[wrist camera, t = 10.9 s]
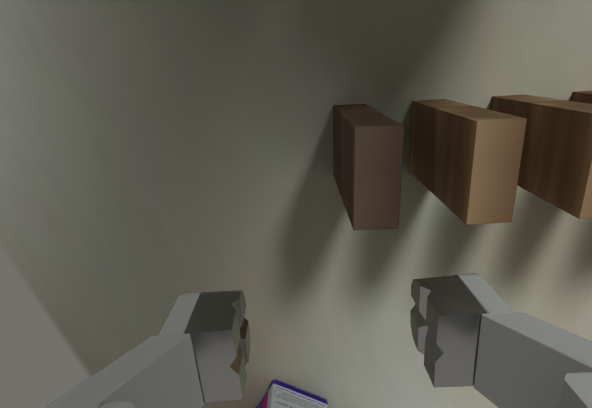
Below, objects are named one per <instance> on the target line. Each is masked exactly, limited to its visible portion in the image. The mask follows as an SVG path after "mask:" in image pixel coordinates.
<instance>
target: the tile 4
mask: <svg viewBox="0 0 592 408" xmlns="http://www.w3.org/2000/svg"><path fill="white" fill-rule="evenodd" d="M571 101H574V102H581V103H589V104H592V91H582V92H573V94H572V99H571Z"/></svg>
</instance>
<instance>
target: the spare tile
mask: <svg viewBox="0 0 592 408" xmlns="http://www.w3.org/2000/svg"><path fill="white" fill-rule="evenodd" d="M403 140H404V126H403V125H401V124H400V123H398V122H396V121H394V120H392V119H391V118H389V117H387V116H385V115H384V114H382V113H380V112H378V111H376V110H375V109H373V108H371V107H369V106H367V105H366V104H358V105H333V163H334V178H335V181H336V183H337V186H338V189H339V192H340V194H341V197H342V200H343V203H344V205H345V208H346V211H347V214H348V216H349V219H350V222H351V225H352V227H353V230H375V229H398V226H399V209H400V192H401V174H402V157H403Z"/></svg>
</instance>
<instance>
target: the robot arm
mask: <svg viewBox="0 0 592 408" xmlns="http://www.w3.org/2000/svg"><path fill="white" fill-rule="evenodd" d="M411 296H412V298H413V300H414V302H415V306H414V307H413V308H412V309H411V330H412V336H413V339H414V343H415V345H416V348H417V350H418V351H419V352H421V353H422V354H424V366H425V368H426V370H427V373H428V375H429V377H430V379H431V381H432V384H433V386H434V387H457V386H474V388H475V389H476V390H477V391H479V392H480V393H481V394H482V395H484V396H485V397H486V398H487V399H489V400H490V401H491V402H492V403H494V404H495V405H496V406H497V407H499V408H592V341H589V340H587V339H585V338H582V337H580V336H578V335H575V334H573V333H570V332H568V331H566V330H563V329H561V328H559V327H556V326H554V325H552V324H549V323H547V322H545V321H542V320H540V319H537V318H535V317H533V316H530V315H528V314H526V313H523V312H514V311H513V310H512V309H511V308H510V307H509V306H508V305H507V304H506V303H505V302H504V300H503V299H502V298H501V297H500V296H499V295H498V294H497V293H496V292H495V291H494V290H493V288H492V287H491V286H490V285H489V284H488V283H487V282H486V281H485V280H484V279H483V277H482V276H481V275H479V274H477V273H472V274H462V275H453V276H442V277H432V278H421V279H413V281H412V285H411ZM245 310H246V302H245V296H244V292H243V290H238V291H217V292H202V293H201V292H195V293H183V294H180V295H179V296H178V297H177V299H176V301H175V303H174V305H173V307H172V309H171V311H170V313H169V315H168V317H167V319H166V321H165V323H164V325H163V327H162V329H161V331H160V333H159V335H158V336H151V337H150V338H148V339H147V340H145V341H144V342H142V343H141V344H139V345H138V346H136V347H135V348H133V349H132V350H130V351H129V352H127V353H126V354H124V355H123V356H121V357H120V358H118V359H117V360H115V361H114V362H112V363H111V364H109V365H108V366H106V367H105V368H103V369H102V370H100V371H99V372H97V373H96V374H94V375H93V376H91V377H90V378H88V379H87V380H85V381H84V382H82V383H81V384H79V385H78V386H76V387H75V388H73V389H72V390H70V391H69V392H67V393H66V394H64V395H63V396H61V397H60V398H58V399H57V400H55V401H54V402H52V403H51V404H49V406H48V407H47V408H202V407H203V406H204V403H209V402H220V401H230V400H241V399H243V394H244V388H245V381H246V370H245V364H246V363H247V362H249V354H250V331H249V323H248V321H247V320H246V319H245V318H244V315H245Z"/></svg>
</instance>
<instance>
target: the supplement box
mask: <svg viewBox="0 0 592 408" xmlns="http://www.w3.org/2000/svg"><path fill="white" fill-rule="evenodd" d="M257 408H328V400H327V399H324V398H322V397H320V396H317V395H314V394H311V393H309V392H306V391H303V390H301V389H299V388H296V387H293V386H291V385H289V384H286V383H283V382H281V381H278V380H273V381H272V383H271V385H270V387H269V389H268V391H267V392H266V394H265V396H264V397H263V399H262V401H261V402H260V404H259V406H258V407H257Z"/></svg>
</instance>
